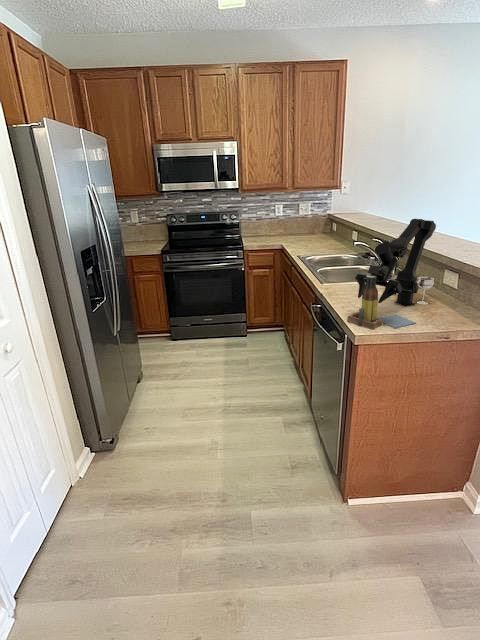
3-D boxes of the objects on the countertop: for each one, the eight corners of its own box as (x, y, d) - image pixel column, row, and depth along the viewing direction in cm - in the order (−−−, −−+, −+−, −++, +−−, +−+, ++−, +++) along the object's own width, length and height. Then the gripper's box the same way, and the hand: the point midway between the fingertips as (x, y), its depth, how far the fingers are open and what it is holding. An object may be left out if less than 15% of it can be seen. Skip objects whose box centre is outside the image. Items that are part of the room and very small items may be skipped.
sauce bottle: (372, 318, 157) (377, 273, 149) (378, 324, 151) (383, 277, 144) (357, 319, 157) (361, 273, 149) (362, 324, 151) (367, 278, 143)
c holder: (356, 317, 159) (358, 302, 156) (382, 324, 150) (384, 308, 148) (346, 322, 154) (347, 306, 152) (372, 330, 146) (374, 313, 143)
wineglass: (431, 305, 169) (436, 280, 165) (415, 304, 171) (419, 279, 166) (428, 300, 175) (432, 276, 171) (413, 300, 177) (416, 276, 173)
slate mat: (395, 315, 160) (395, 314, 159) (415, 323, 150) (415, 322, 150) (375, 319, 156) (375, 318, 156) (394, 328, 146) (395, 327, 146)
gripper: (359, 254, 153) (341, 285, 151) (402, 260, 140) (384, 294, 137) (368, 269, 161) (351, 299, 158) (409, 277, 147) (392, 309, 145)
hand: (368, 300), depth 149 cm, fingers open, 9 cm apart
